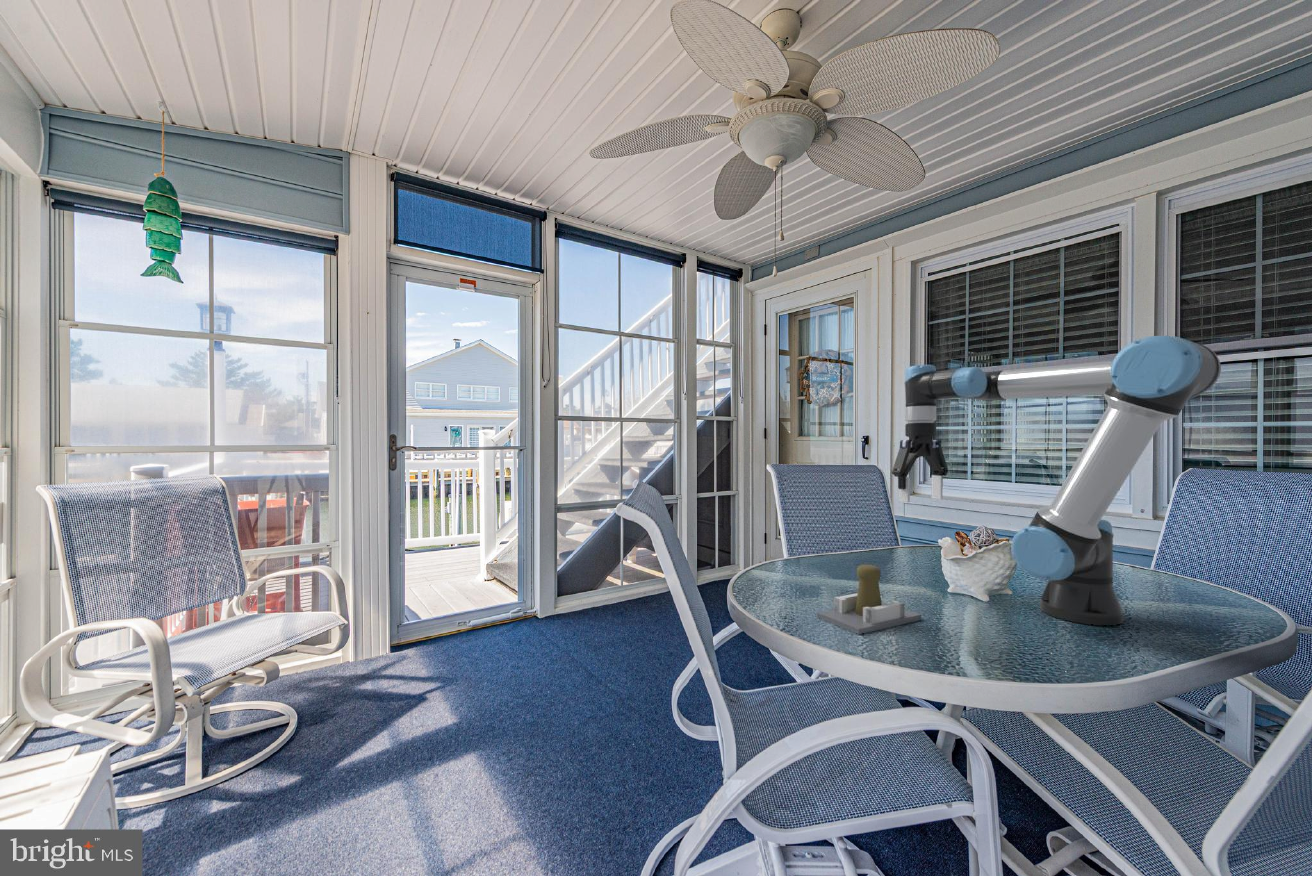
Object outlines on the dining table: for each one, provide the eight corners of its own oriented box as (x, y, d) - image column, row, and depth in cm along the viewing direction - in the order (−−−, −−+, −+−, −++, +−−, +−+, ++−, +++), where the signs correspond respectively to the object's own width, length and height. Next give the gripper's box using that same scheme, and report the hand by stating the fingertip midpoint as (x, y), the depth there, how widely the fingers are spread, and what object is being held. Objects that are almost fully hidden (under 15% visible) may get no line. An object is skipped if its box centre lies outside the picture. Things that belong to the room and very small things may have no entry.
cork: (880, 619, 115) (880, 570, 115) (852, 614, 118) (852, 566, 119) (885, 612, 120) (885, 564, 120) (857, 607, 124) (857, 561, 124)
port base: (921, 619, 118) (920, 601, 119) (858, 634, 109) (858, 614, 109) (877, 605, 129) (877, 588, 129) (817, 617, 120) (817, 599, 120)
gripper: (937, 423, 151) (937, 496, 151) (877, 422, 139) (877, 501, 139) (962, 422, 144) (962, 499, 144) (901, 421, 133) (902, 504, 133)
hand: (921, 500), depth 142 cm, fingers open, 13 cm apart
